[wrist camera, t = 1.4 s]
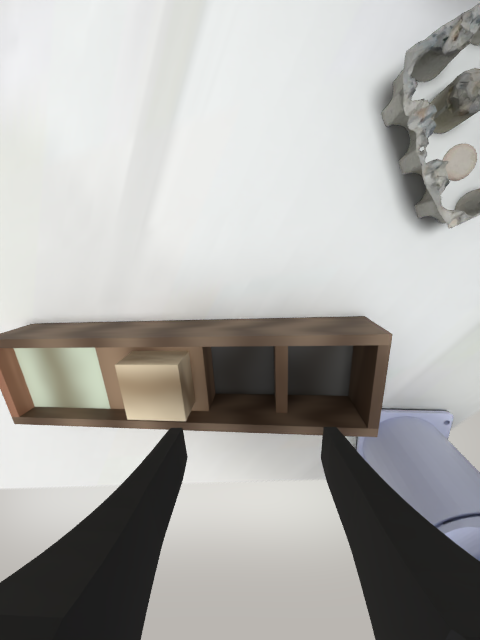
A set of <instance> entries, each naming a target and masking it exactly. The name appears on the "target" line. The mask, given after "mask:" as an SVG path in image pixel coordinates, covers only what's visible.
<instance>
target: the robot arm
mask: <svg viewBox="0 0 480 640" xmlns="http://www.w3.org/2000/svg"><path fill="white" fill-rule="evenodd" d="M444 421H445V422H444ZM452 421H453V415H452V414H451V413H450V412H448V411H422V410H381V416H380V423H379V430H378V437H358V440H357V449H355V448H354V447H353V446H352V445H351V444H350V442H349V441H348V440H347V439H346V438H345V436H344V435H343V434H342V433H341V432H340V430H339V429H338V428H337V427H324V428H323V439H322V451H321V460H322V464H323V468H324V472H325V476H326V480H327V483H328V486H329V489H330V491H331V494H332V496H333V500H334V502H335V505H336V508H337V511H338V514H339V516H340V519H341V522H342V525H343V527H344V530H345V533H346V536H347V539H348V542H349V545H350V548H351V551H352V554H353V558H354V561H355V565H356V568H357V572H358V575H359V579H360V582H361V586H362V590H363V594H364V597H365V601H366V605H367V609H368V612H369V616H370V620H371V623H372V628H373V631H374V635H375V639H376V640H480V472H479V471H478V470H477V469H476V468H475V467H474V466H473V465H472V464H471V463H470V462H469V461H468V460H467V459H466V458H465V457H464V456H463V455H462V454H461V453H460V452H459V451H458V450H457V449H456V448H455V447H454V446H453V445H452V444H451V443H450V442H449V441H448V436H449V433H450V429H451V425H452ZM186 462H187V452H186V446H185V440H184V434H183V428H170V429H169V430H168V432H167V433H166V434H165V435H164V436H163V438H162V439H161V440H160V441H159V443H158V444H157V445H156V446H155V448H154V449H153V450H152V451H151V452H150V453H149V455H148V456H147V457H146V458H145V459H144V460H143V462H142V463H141V464H140V465H139V466H138V467H137V468H136V469H135V471H134V472H133V473H132V474H131V475H130V476H129V477H128V478H127V479H126V480H125V481H124V482H123V483H122V484H121V485H120V486H119V487H118V488H117V490H116V491H114V492H113V493H112V494H111V495H110V496H109V497H108V498H107V499H106V500H105V501H104V502H103V503H102V504H101V505H100V506H99V507H98V508H96V509H95V510H94V511H93V512H92V513H91V514H90V515H89V516H87V517H86V518H85V519H84V520H83V521H82V522H80V523H79V524H78V525H77V526H76V527H75V528H73V529H72V530H71V531H70V532H68V533H67V534H66V535H65V536H63V537H62V538H61V539H60V540H58V541H57V542H56V543H54V544H53V545H52V546H51V547H49V548H48V549H47V550H45V551H44V552H43V553H41V554H40V555H39V556H37V557H36V558H35V559H33V560H32V561H31V562H29V563H27V564H26V565H25V566H23V567H22V568H21V569H19V570H18V571H16V572H15V573H13V574H12V575H11V576H9V577H8V578H6V579H5V580H3V581H2V582H1V583H0V640H141V635H142V630H143V626H144V621H145V616H146V612H147V607H148V603H149V598H150V594H151V589H152V585H153V581H154V576H155V572H156V568H157V564H158V560H159V555H160V551H161V547H162V544H163V540H164V537H165V533H166V530H167V527H168V524H169V521H170V518H171V515H172V512H173V508H174V506H175V502H176V499H177V496H178V493H179V490H180V487H181V484H182V480H183V476H184V472H185V467H186Z"/></svg>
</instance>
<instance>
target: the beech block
mask: <svg viewBox="0 0 480 640" xmlns="http://www.w3.org/2000/svg"><path fill="white" fill-rule="evenodd" d="M115 368H116V373H117V377H118V381H119V386H120V390H121V394H122V398H123V403H124V407H125V411H126V416H127V420H158V421H186V420H187V418H188V416H189V414H190V412H191V410H192V408H193V405H194V403H195V396H194V388H193V380H192V372H191V364H190V357H189V351H132V352H131V353H130V354H128V355H127V356H126V357H124V358H123V359H122V360H120V361H119V362H118V363H116V364H115Z"/></svg>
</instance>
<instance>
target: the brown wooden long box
mask: <svg viewBox="0 0 480 640" xmlns="http://www.w3.org/2000/svg"><path fill="white" fill-rule="evenodd" d="M391 341H392V334H391V333H390V332H388V331H387V330H385V329H383V328H382V327H380V326H379V325H377V324H376V323H374V322H372V321H371V320H369V319H368V318H366V317H365V316H358V317H313V318H268V319H222V320H177V321H132V322H87V323H42V324H30V325H27V326H24V327H20V328H17V329H14V330H11V331H7V332H4V333H1V334H0V389H1V391H2V394H3V396H4V399H5V401H6V404H7V406H8V409H9V411H10V414H11V416H12V419H13V421H14V424H30V425H58V426H85V427H112V428H139V429H166V430H169V429H170V428H183V430H194V431H221V432H248V433H275V434H302V435H323V428H324V427H337V428H338V429H339V430H340V432H341V433H342V434H343V435H344V436H357V437H378V430H379V423H380V416H381V409H382V402H383V395H384V389H385V382H386V375H387V368H388V361H389V354H390V347H391ZM132 351H189V357H190V364H191V372H192V380H193V388H194V396H195V403H194V405H193V408H192V410H191V412H190V414H189V416H188V418H187V420H186V421H158V420H127V416H126V411H125V407H124V403H123V398H122V394H121V390H120V386H119V381H118V377H117V373H116V368H115V364H116V363H118V362H119V361H120V360H122V359H123V358H124V357H126V356H127V355H128V354H130V353H131V352H132Z"/></svg>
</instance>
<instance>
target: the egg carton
mask: <svg viewBox="0 0 480 640" xmlns="http://www.w3.org/2000/svg"><path fill="white" fill-rule="evenodd" d="M470 43H471V44H473V45H480V3H479V4H478V5H476V6H475V7H473V8H472V9H471V10H469V11H467V12H464V13H462V14H461V15H460V16H458V17H457V18H455V19H454V20H452V21H450V22H448V23H447V24H445V25H442V26H441V27H440V28H439V29H438V30H436V31H435V32H433V33H432V34H431V35H430V36H429V37H428V38H426V39H425V40H423V41H420V42H418V43H417V44H415V45H414V46H413V47H411V48H410V49H409V50H407V51H406V55H405V62H404V69H403V70H402V72H401V73H400V75H399V76H398V77H397V79H396V80H395V81H394V82H393V96H392V99H391V101H390V103H389V104H388V105H387V107H386V108H385V109H384V110H383V111H382V113H381V114H382V118H383V121H384V123H385V126H386V127H388V126H392V125H401V126H403V127H405V128H406V129H407V131H408V132H409V136H410V145H409V148H408V150H407V152H406V154H405V155H404V156H403V157H402V158H401V159H400V160H399V166H400V168H401V171H402V174H409V173H417V174H419V175H421V176H422V177H423V180H424V184H425V186H426V191H425V194H424V196H423V198H422V199H421V201H420V202H419V203H417V204H416V205H415V211H416V214H417V216H418V218H422V217H425V216H431V217H434V218H436V219H437V220H438V221H439V222H440V223H447V224H448V228H453V227H455V226H457V225H459V224H461V223H464V222H466V221H468V220H470V219H472V218H474V217H476V216H478V215H480V189H477V190H474V191H471V192H469V193H467V194H465V195H464V196H463V197H462V198H461V199H460V200H459V201H458V203H457V204H456V207H455V210H446V209H445V208H444V207H442V205H441V196H440V195H441V193H442V192H443V191H444V190H445V188H446V186H447V185H448V184H449V180H452V181H458V180H461V179H463V178H465V177H466V176H467V175H469V173H470V172H471V171H472V170H473V168H474V167H475V165H476V161H477V153H476V150H475V149H474V148H473V147H472V146H471V145H469V144H458V145H456V146H454V147H452V148H451V149H450V150H449V151H448V152H447V153H446V154H445V156H444V158H443V160H438V159H436V160H433V161H430V162H428V163H425V158H426V156H427V152H426V149H425V148H426V147H427V145H428V144H429V142H428V137H429V136H430V135H431V134H432V133H433V132H434V133H438V134H441V133H445V132H447V131H449V130H451V129H452V128H454V127H455V126H457V125H459V124H460V123H462V122H463V121H465V120H466V119H468V118H469V117H471V116H472V115H474V114H475V113H477V112H478V111H480V69H476V68H474V69H471V70H468V71H465V72H463V73H462V74H460V75H459V76H457V78H456V79H455V80H454V81H453V82H452V83H450V84H449V85H448V86H447V87H446V88H445V89H444V90H443V91H442V92H441V93H440V94H439V95H437V96H436V97H435V98H434V99H433V101H432V102H431V103H430V104H429V102H428V100H425V101H424V99H421V100H415V101H412V100H411V98H412V95H413V94H414V92H415V91H416V90H415V88H416V87H417V85H418V84H417V81H420V82H426V81H430V80H432V79H433V78H435V77H436V76H437V75H438V74H439V73H440V72H441V71H442V70H443V69H444V68H445V67H446V66H447V64H448V63H449V62H450V61H451V60H452V59H453V58H454V57H455V56H456V55H457V54H458V53H459V52H460V51H461V50H462V49H463V48H465V47H466V46H467V45H468V44H470ZM410 76H411V77H412V78H410ZM423 146H424V150H423V151H422V152H421V151H420V150H419V149H420V147H423Z"/></svg>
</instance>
